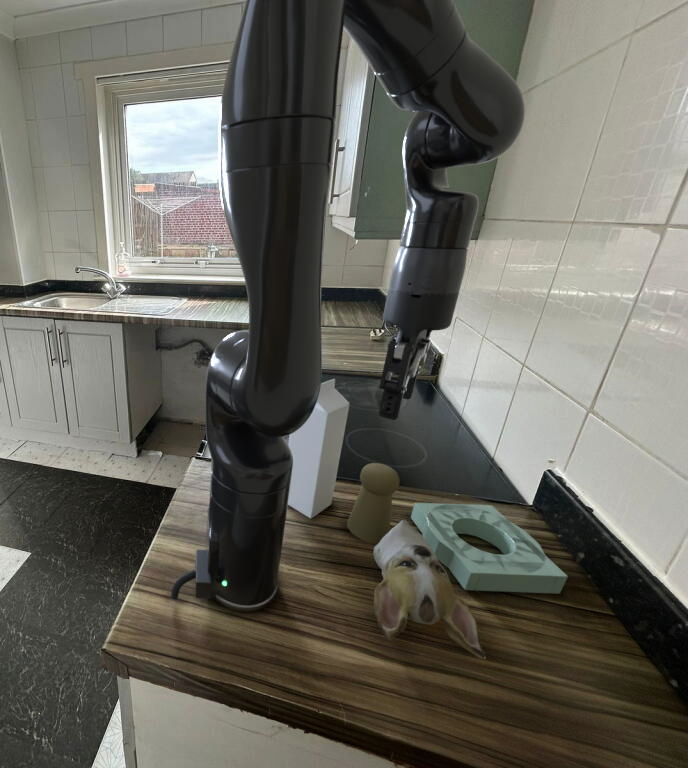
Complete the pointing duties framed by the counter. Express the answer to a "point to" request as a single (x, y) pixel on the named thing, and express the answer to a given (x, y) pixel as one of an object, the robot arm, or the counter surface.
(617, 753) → the counter surface
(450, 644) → the counter surface
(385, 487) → the cork
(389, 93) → the robot arm
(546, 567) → the plate
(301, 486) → the milk
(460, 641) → the dog head figure
